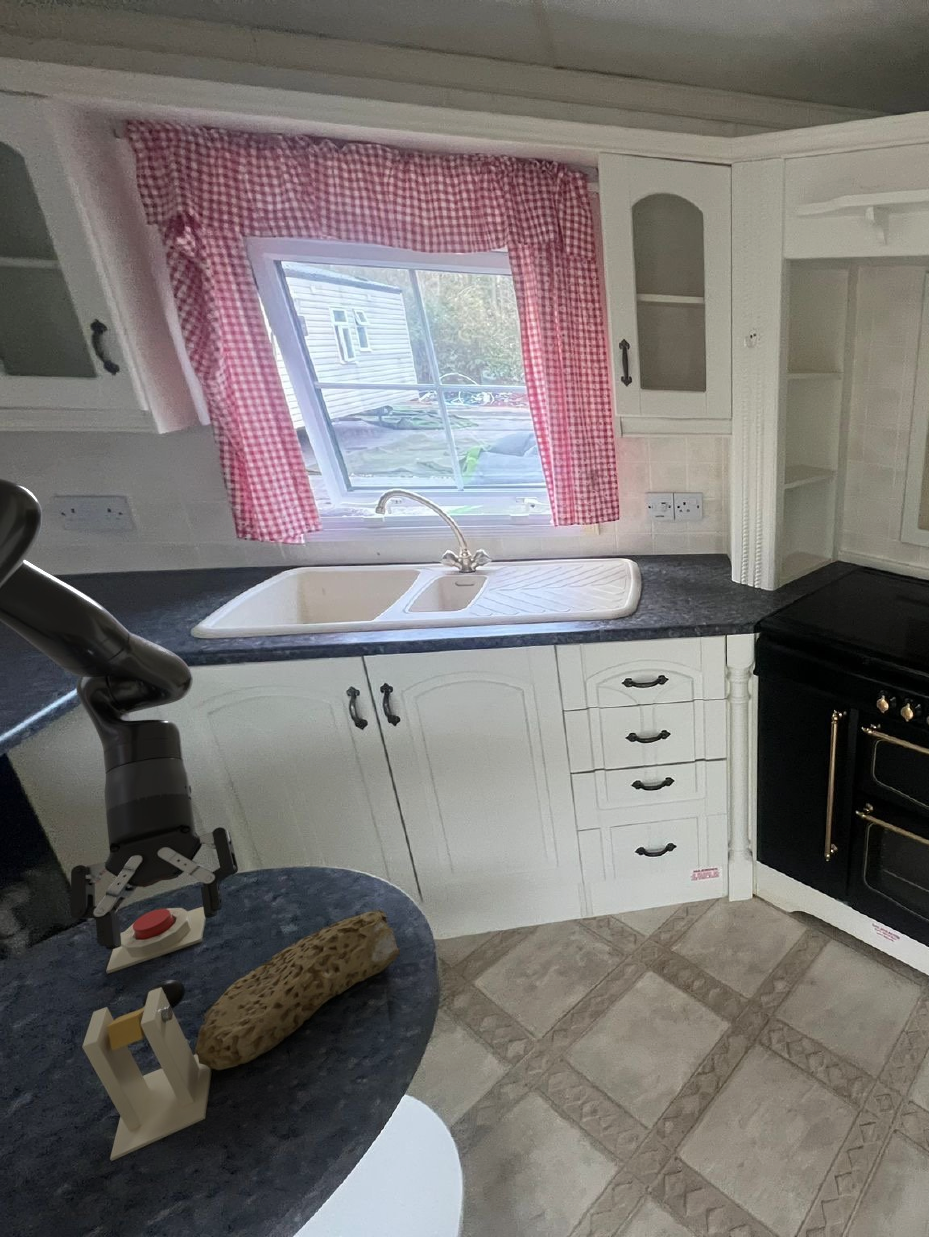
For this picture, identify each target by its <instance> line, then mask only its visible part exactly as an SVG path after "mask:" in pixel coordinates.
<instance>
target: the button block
mask: <svg viewBox="0 0 929 1237" xmlns="http://www.w3.org/2000/svg"><path fill="white" fill-rule="evenodd" d="M167 909H168V910H169V911H170V913H171V915H172V917H173V920H174V924H173V926H172V927H171V928H170V929H169V930H167V931H165V932H164V933H162V934H160V935H158V936H155V937H152V938H149V939H146V940H141V939H138V938H137V936H136V934H135V931H134V929H133V924H134V922H133V923H132V924H131V925H130V926H129V927H128V928H126V930H125V931H122V932H120V934H121V947H118V948H115V949H112V952H111V954H110V958H109V961H108V964H107V967H106V970H105V971H106V974H107V975H108V974H112V973H114V972H117V971H121V970H123V969H126V968H128V967H132V966H135V965H138V964H140V963H143V962H146V961H149V960H152V959H156V958H158V957H160V956H164V955H167V954H169V953H172V952H176V951H178V950H181V949H185V948H187V947H191V946H193V945H196V944H198V943H201V942H202V941H203V936H204V931H205V926H206V920H207V918H206V917H205V915H204V909H203V906H200V907H198V908H193V909H191V910H186V909H184V908H183V907H173V908H170V907H169V908H167Z"/></svg>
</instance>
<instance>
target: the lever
mask: <svg viewBox="0 0 929 1237" xmlns="http://www.w3.org/2000/svg"><path fill="white" fill-rule="evenodd" d="M160 987H162V989H163V991H164V994H165V996H166V998H167V1000H168V1002H169V1004H170V1006H171V1008H172V1010H173V1009H175V1008H176V1007H177V1006H178V1005H179V1004H181V1002H182V1000H183V999H184V997H185V995H186V994H185V993H186V988H185V985H184V983H182V982H181V981H179V980H178V979H177V980H176V979H166V980H162V981H159V982H157V983H155V984H154V985H153V986H151V987H150V988H149V989H147V991H146V993H145V994H144V997H143V999H142V1006H143V1007H141V1008H140V1009H136V1010H134V1011H132V1012H128V1013H126V1014H124V1015H121V1016H118V1017H117V1018H115V1019H114V1021H113V1022H112V1023H111V1024H110V1025H108V1026H107V1029H108V1034H109V1039H110V1044H111V1049H112V1050H115V1049H118V1048H120V1047H123V1046H125V1045H127V1046H128V1045H130V1044H133V1043H136V1042H138V1041H141V1040H142V1039H144V1038H145V1037H146V1035H145V1033H144V1031H143V1029H142V1027H141V1021H142V1017H143V1013H144V1009H145V1005H146V1001H147V997H148V993H149V991H152V990H155V989H158V988H160Z"/></svg>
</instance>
